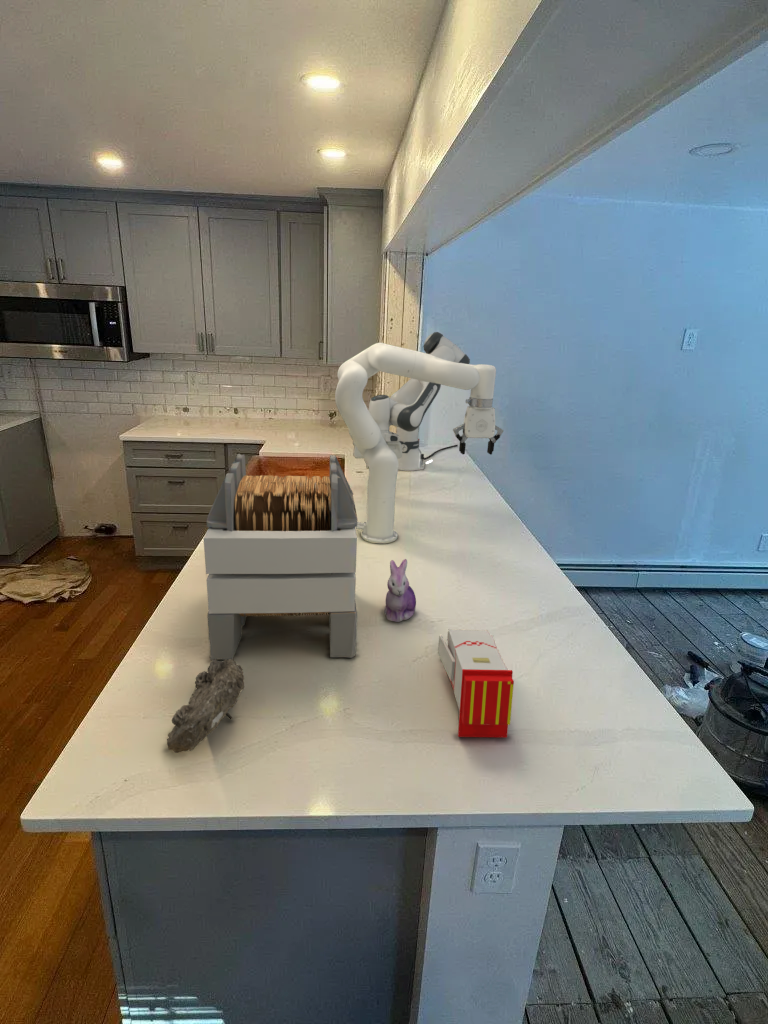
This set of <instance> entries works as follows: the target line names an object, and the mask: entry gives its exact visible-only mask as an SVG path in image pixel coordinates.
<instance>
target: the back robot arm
mask: <svg viewBox="0 0 768 1024" xmlns="http://www.w3.org/2000/svg"><path fill="white" fill-rule="evenodd" d="M422 349H423V351H424V353H427V354H430V355H432V356H435V357H437V358H440V359H444V360H447V361H451V362H455V363H464V364H470V363H471V359H470V357H469V355H467V354H466V353H465V352H464V351H463V350H462V349H461V348H460V347H459V346H458V345H457V344H456V343H454V342H453V341H451V340H450V339H449V338H447V337H446V336H444V334H443V333H441V332H439V331H434V332H432V333H431V334H429V335H428V336H427V337H426V338H425V340H424V342H423V346H422ZM441 387H442V385H441V384H437V383H432V382H425V381H421V380H417V379H412V378H409V379H408V381H406V382H405V383H404V384H403V385H402V386H401V387H400V388H399V389H398V390H397V391H395V392H394V393H393V394H392V395H390V396H389V395H387V394H378V395H374V396H372V397H371V398H370V400H369V403H368V411H369V412H370V414H371V416H372V418H373V419H374V421H375V422H376V423H377V425H378V426H379V428H380V432H381V435H382V436H383V438H384V440H385V442H386V443H387V445H388V446H389V448H390V449H391V450H392V451H393V452H394V453H395V455H396V457H397V459H398V471H406V472H412V471H420V470H422V471H423V470H425V465H427V464H430V463H432V462H433V459H430V458H431V457H433V456H434V455H435V454H437V453H439V452H442V451H444V450H447V449H452V448H455V447H459V444H453V445H450V446H446V447H443V448H440V449H438V450H435V451H434V452H432V453H431V454H429V455H427V456H426V457H425V454H424V453H422V451H421V449H420V438H419V437H420V435H419V434H420V426H421V424H422V422H423V419H424V417H425V415H426V413H427V411H428V410H429V409H430V407H431V405H432V403H433V402H434V400H435V399H436V397H437V395H438V394H439V392H440V390H441ZM391 426H392V427H395V428H396V430H395V432H394V431H390V427H391ZM352 445H353V451H352V456H353V457H354V459H357V460H358V459H359V460H360V459H361V460H362V459H363V462H365V460H364V458H363V457H362V455H361V453H360V452H359V450H358V448H357V447H356V445H355V443H354V441H353V440H352ZM428 459H430V460H428ZM425 460H428V461H425ZM364 464H365V465H366V469H367V470H369V467H368V465H367V463H366V462H365V463H364Z"/></svg>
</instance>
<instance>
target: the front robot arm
mask: <svg viewBox="0 0 768 1024" xmlns="http://www.w3.org/2000/svg"><path fill="white" fill-rule="evenodd" d="M379 372H380V373H381V372H382V373H385V374H389V375H395V376H399V377H404V378H407V379H408V378H409V379H411V378H412V379H417V380H421V381H425V382H432V383H437V384H441V386H446V387H450V388H455V389H458V390H464V391H470V393H469V394H470V395H469V397H468V398H466V399H465V404H468V406H467V407H466V410H465V414H464V417H463V418H464V419H463V423H462V424H460V425H458V426H456V427H454V428H453V429H452V431H453V434H454V436H455V438H456V439H457V440H458V441H459V445H458V452H459V453H460V454H461V455H465V454H466V447H467V445H466V441H467V440H468V439H489V440H488V442H487V450H486V452H487V454H489V455H490V456H492V455H493V453H494V451H495V444H496V443H497V441H498V440H499V439H500V438H501V436H502V434H503V433H504V429H502V428H501V427H500V426H497V425H496V409H495V408H494V407H493V404H494V403H493V402H494V394H495V386H496V385H495V384H496V377H497V376H496V375H497V368H496V367H495V365H491V364H486V363H485V364H484V363H483V364H481V363H479V364H470V363H469V364H464V363H455V362H451V361H447V360H444V359H440V358H437V357H435V356H432V355H430V354H427V353H426V352H423V351H418V350H415V349H410V348H407V347H406V348H405V347H401V346H397V345H393V344H388V343H385V342H376V343H374V344H372V345H370V346H369V347H367V348H365V349H363V350H362V351H360V352H359V353H357V354H355V355H354V356H352V357H350V358H349V359H347V360H346V361H345V362H344V361H343V363H341V365H340V366H339V368H338V370H337V375H336V376H337V380H338V382H337V385H336V388H335V393H334V402H335V405H336V408H337V410H338V413H339V415H340V416H341V418H342V420H343V422H344V424H345V426H346V427H347V429H348V434H349V436H350V438H351V440H352V442H353V441H354V443H355V445H356V447H357V448H358V450H359V452H360V453H361V455H362V457H363V461H364V460H365V461H364V462H366V463H367V465H368V467H369V469H368V476H367V477H368V478H367V487H366V519H365V520H366V521H364V522H362V521H357V526H356V527H355V529H356V530H361V534H360V535H361V538H362V539H363V540H364V541H366V542H368V543H373V544H389V543H393V542H395V541H397V540H398V537H399V534H398V532H397V531H396V530H395V528H394V527H395V510H396V509H395V508H396V507H395V506H396V491H397V490H396V489H397V478H398V473H399V470H398V459H397V457H396V455H395V453H394V452H393V451H392V450H391V449H390V448H389V446H388V445H387V443H386V442H385V440H384V438H383V436H382V435H381V432H380V428H379V426H378V425H377V423H376V422H375V421H374V419H373V418H372V416H371V414H370V412H369V408H368V406H367V405H366V403H365V401H364V397H363V395H364V394H363V393H364V390H365V388H366V386H367V384H368V381H369V379H370V378H371V377H373V376H375V375H376V374H377V373H379ZM460 431H462V435H460V433H459V432H460ZM366 463H365V464H366Z"/></svg>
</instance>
